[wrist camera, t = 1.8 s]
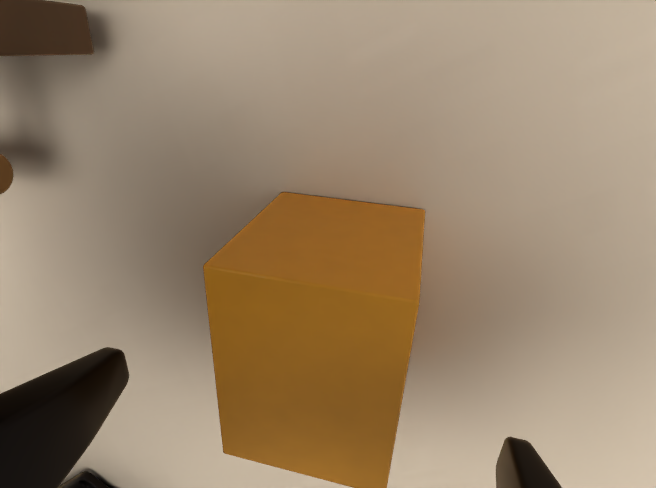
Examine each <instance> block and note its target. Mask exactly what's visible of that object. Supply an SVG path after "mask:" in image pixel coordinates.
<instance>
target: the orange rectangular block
mask: <svg viewBox="0 0 656 488" xmlns="http://www.w3.org/2000/svg"><path fill="white" fill-rule="evenodd" d="M424 221H425V210H423V209H415V208H407V207H399V206H391V205H383V204H375V203H367V202H359V201H351V200H343V199H335V198H327V197H319V196H311V195H303V194H295V193H287V192H282V193H281V194H279V195H278V196H277V197H276V198H275V199H274V200H273V201H272V202H271V203H270V204H269V205H268V206H267V207H265V208H264V209H263V210H262V211H261V212H260V213H259V214H258V215H257V216H256V217H255V218H254V219H253V220H252V221H250V222H249V223H248V224H247V225H246V226H245V227H244V228H243V229H242V230H241V231H240V232H239V233H238V234H236V235H235V236H234V237H233V238H232V239H231V240H230V241H229V242H228V243H227V244H226V245H225V246H224V247H223V248H221V249H220V250H219V251H218V252H217V253H216V254H215V255H214V256H213V257H212V258H211V259H210V260H209V261H207V262H206V263H205V264H204V266H203V271H204V280H205V289H206V298H207V307H208V316H209V326H210V335H211V344H212V353H213V362H214V371H215V380H216V389H217V398H218V407H219V416H220V425H221V435H222V444H223V452H224V453H225V454H229V455H233V456H236V457H240V458H244V459H248V460H252V461H255V462H259V463H263V464H267V465H270V466H274V467H278V468H282V469H286V470H289V471H293V472H297V473H301V474H304V475H308V476H312V477H316V478H320V479H323V480H327V481H331V482H335V483H338V484H342V485H346V486H350V487H354V488H387V483H388V477H389V472H390V466H391V460H392V455H393V449H394V443H395V438H396V432H397V426H398V421H399V415H400V409H401V404H402V398H403V392H404V387H405V381H406V375H407V370H408V364H409V358H410V353H411V347H412V341H413V336H414V330H415V324H416V319H417V313H418V307H419V300H420V284H421V268H422V253H423V237H424Z"/></svg>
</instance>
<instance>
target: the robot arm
mask: <svg viewBox="0 0 656 488" xmlns="http://www.w3.org/2000/svg"><path fill="white" fill-rule="evenodd" d="M128 379H129V372H128V368H127V363H126V359H125V355H124V353H123V352H122V351H121V350H119V349H114V348H109V347H106V348H103V349H100V350H98V351H96V352H94V353H91V354H89V355H87V356H85V357H82V358H80V359H78V360H76V361H73V362H71V363H69V364H67V365H64V366H62V367H60V368H58V369H55V370H53V371H51V372H48V373H46V374H44V375H42V376H39V377H37V378H35V379H33V380H30V381H28V382H26V383H24V384H21V385H19V386H17V387H15V388H12V389H10V390H8V391H6V392H3V393H1V394H0V488H108V487H107V486H106V485H105V484H104V483H102V482H101V481H100V480H99V479H98V478H96V477H95V476H94V475H93V474H91V473H89V472H86V471H84V472H82V473H80V474H79V475H77V476H75V477H74V478H72V479H70V480H69V481H67V482H66V483H64V484H62V485H61V486H59V485H60V484H61V483H62V481H63V480H64V479H65V477H66V476H67V475H68V473H69V472H70V471H71V469H72V468H73V467H74V465H75V464H76V462H77V461H78V460H79V458H80V457H81V456H82V454H83V453H84V452H85V450H86V449H87V447H88V446H89V445H90V443H91V442H92V440H93V439H94V437H95V435H96V434H97V432H98V431H99V429H100V428H101V426H102V424H103V423H104V421H105V419H106V418H107V416H108V414H109V413H110V411H111V409H112V408H113V406H114V405H115V403H116V401H117V400H118V398H119V396H120V395H121V393H122V391H123V390H124V388H125V387H126V385H127V382H128ZM496 488H562V487H561V486H560V484H559V483H558V481H557V480H556V479H555V477H554V476H553V474H552V473H551V472H550V470H549V469H548V467H547V466H546V465H545V463H544V462H543V460H542V459H541V458H540V456H539V455H538V453H537V452H536V451H535V449H534V448H533V446H532V445H531V444H530V443H529V442H528V441H526V440H522V439H518V438H513V437H507V438H506V439H505V441H504V444H503V447H502V449H501V452H500V455H499V458H498V461H497V465H496Z"/></svg>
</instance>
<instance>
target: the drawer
mask: <svg viewBox="0 0 656 488" xmlns="http://www.w3.org/2000/svg"><path fill="white" fill-rule="evenodd" d="M92 54H94V50H93V45H92V40H91V35H90V30H89V24H88V19H87V14H86V9H85V7H84V6H82V5H77V4H69V3H61V2H53V1H45V0H0V56H34V55H92ZM12 180H13V169H12V166H11V164H10V162H9V161H8V159H7V158H6V157H5V156H3V155H2V154H0V194H2V193H4V192H5V191H6V190H7V189H8V188H9V187H10V185H11V183H12Z"/></svg>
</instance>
